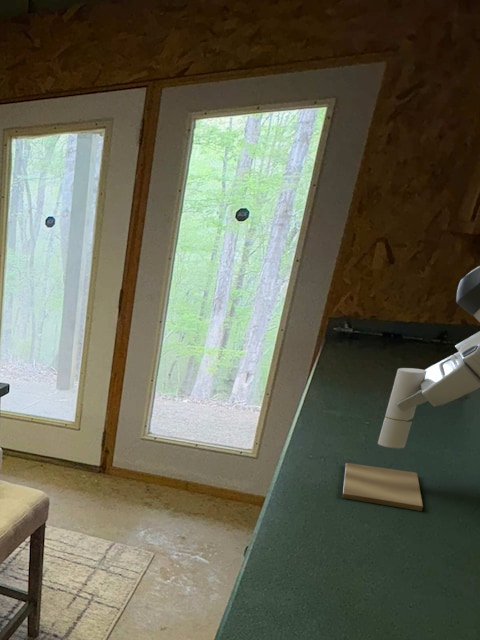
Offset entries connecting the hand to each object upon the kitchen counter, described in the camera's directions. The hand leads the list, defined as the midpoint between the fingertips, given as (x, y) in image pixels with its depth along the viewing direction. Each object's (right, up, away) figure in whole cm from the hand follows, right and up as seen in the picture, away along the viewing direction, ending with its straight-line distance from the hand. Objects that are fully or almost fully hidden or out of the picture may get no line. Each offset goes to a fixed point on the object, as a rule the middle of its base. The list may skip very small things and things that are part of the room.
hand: (399, 404), depth 121 cm
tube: (+1, -8, +3) cm, 8 cm away
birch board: (-1, -16, +4) cm, 17 cm away
